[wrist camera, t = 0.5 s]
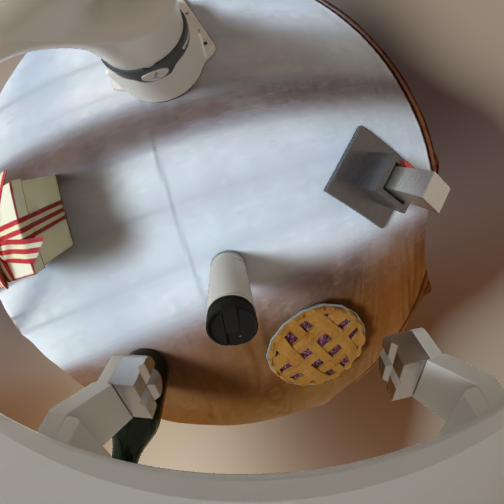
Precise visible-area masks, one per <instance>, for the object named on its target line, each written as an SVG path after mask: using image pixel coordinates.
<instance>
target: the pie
mask: <svg viewBox="0 0 504 504" xmlns="http://www.w3.org/2000/svg"><path fill="white" fill-rule="evenodd" d="M365 340H366V336H365V325H364V324H363V322H362V321H361V319H360V318H359V316H358V315H357V313H356V312H354V311H352V310H350V309H348V308H347V307H345V306H343V305H337V304H324V303H322V304H319V303H318V304H315V305H312V306H309V307H307V308H304V309H301V310H300V311H299V312H297V313H296V314H295V315H293V316H292V317H290V318H289V319H287V320H286V321H285V323H283V325H282V326H281V327H280V328H279V330H278V331H277V332H276V334H275V335H274V336H273V337H272V339H271V340H270V343H269V347H268V351H267V355H266V357H267V360H268V363H269V366H270V369H271V370H272V371H273V372H274V373H275V374H276V376H277V377H280V378H281V379H282V380H284V381H285V382H287V383H289V384H293V383H294V384H297V385H299V386H301V387H302V386H307V385H321V384H324V382H325V381H327V380H329V379H336V378H337V377H339V375H340V373H341V372H342V371H344V370H348V369H349V368H351V367H352V362H353V361H354V360H355V359H356V358H357V357H359V356H360V355H361V353H362V347H363V345H364V343H365Z"/></svg>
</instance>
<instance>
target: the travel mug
mask: <svg viewBox="0 0 504 504" xmlns="http://www.w3.org/2000/svg"><path fill="white" fill-rule="evenodd" d="M206 316H207V320H206V331H207V334H208V336H209V337H210V338H211V339H212V340H213V341H214V342H216V343H218V344H220V345H226V346H228V345H239V344H241V343H243V344H244V343H246V342H248V341H250V340H251V339H252V338H253V337H254V336H255V335H256V333H257V330H258V322H257V317H256V311H255V306H254V302H253V297H252V293H251V288H250V283H249V279H248V274H247V270H246V265H245V261H244V259H243V258H242V256H240V255H239V254H238V253H236V252H233V251H223V252H220V253H218V254H217V255H216V256H215V257H214V258H213V260H212V262H211V267H210V278H209V289H208V301H207V314H206Z"/></svg>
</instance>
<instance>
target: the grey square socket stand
mask: <svg viewBox="0 0 504 504" xmlns="http://www.w3.org/2000/svg"><path fill="white" fill-rule="evenodd" d="M394 166H400V167H407V168H414V167H413V166H412V165H411V164H409V163H408V162H407V161H406V160H404V159H403V158H402V157H401V156H399V155H398V154H397V153H396V152H395V151H393V150H392V149H391V148H390V147H389V146H387V145H386V144H385V143H384V142H383V141H381V140H380V139H379V138H378V137H376V136H375V135H374V134H372V133H371V132H370V131H369V130H367V129H366V128H365V127H363V126H358V128H357V129H356V131H355V133H354V135H353V137H352V139H351V141H350V143H349V145H348V146H347V148H346V150H345V152H344V154H343V156H342V158H341V159H340V161H339V163H338V165H337V167H336V169H335V170H334V172H333V174H332V176H331V178H330V180H329V181H328V183H327V185H326V187H325V189H324V190H323V191H325V192H327V193H328V194H330V195H331V196H333V197H335V198H336V199H338V200H339V201H341V202H342V203H344V204H345V205H347V206H349V207H350V208H352V209H353V210H355V211H356V212H358V213H359V214H361V215H362V216H364V217H365V218H367V219H368V220H370V221H371V222H372V223H374V224H375V225H377V226H378V227H380V228H382V229H383V227H384V225H385V223H386V222H387V220H388V218H389V216H390V214H391V212H392V211H393V210H396V211H399V212H401V213H404V214H405V212H406V210H407V208H408V206H409V204H410V203H407V202H404V201H401V200H398V199H395V198H394V197H393V196H391V195H390V194H389V193H387V192H386V191H385V190H384V189H383V187H384V185H385V183H386V181H387V179H388V178H389V176H390V174H391V172H392V170H393V168H394Z"/></svg>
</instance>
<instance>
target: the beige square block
mask: <svg viewBox="0 0 504 504" xmlns="http://www.w3.org/2000/svg"><path fill="white" fill-rule="evenodd" d="M383 189H384V190H385V191H386V192H387V193H389V194H390V195H391V196H393V197H394V198H395V199H398V200H401V201H404V202H407V203H410V204H414V205H417V206H420V207H423V208H426V209H428V210H431V211H434V212H437V213H439V212H440V210H441V208H442V206H443V204H444V202H445V200H446V197H447V195H448V193H449V191H450V187H449V186H448V185H447V184H446V183H445V182H444V181H443V180H442V179H441V178H440V177H439V176H438V174H437V173H436V172H435V171H429V170H422V169H415V168H407V167H400V166H394V168H393V170H392V172H391V174H390V176H389V178H388V179H387V181H386V183H385V185H384V187H383Z"/></svg>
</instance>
